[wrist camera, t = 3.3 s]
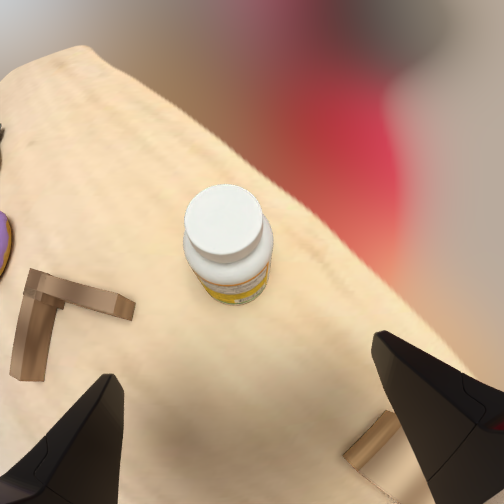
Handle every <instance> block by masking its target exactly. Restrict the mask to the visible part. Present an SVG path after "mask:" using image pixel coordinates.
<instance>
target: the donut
mask: <svg viewBox="0 0 504 504" xmlns="http://www.w3.org/2000/svg"><path fill="white" fill-rule="evenodd" d="M10 249H11V227H10V225H9V222H8V220H7V217H6V215H5V214H4V213H3V212H1V211H0V276H1V274H2V272H3V270H4V268H5V266H6V263H7V260H8V257H9V254H10Z"/></svg>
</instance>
